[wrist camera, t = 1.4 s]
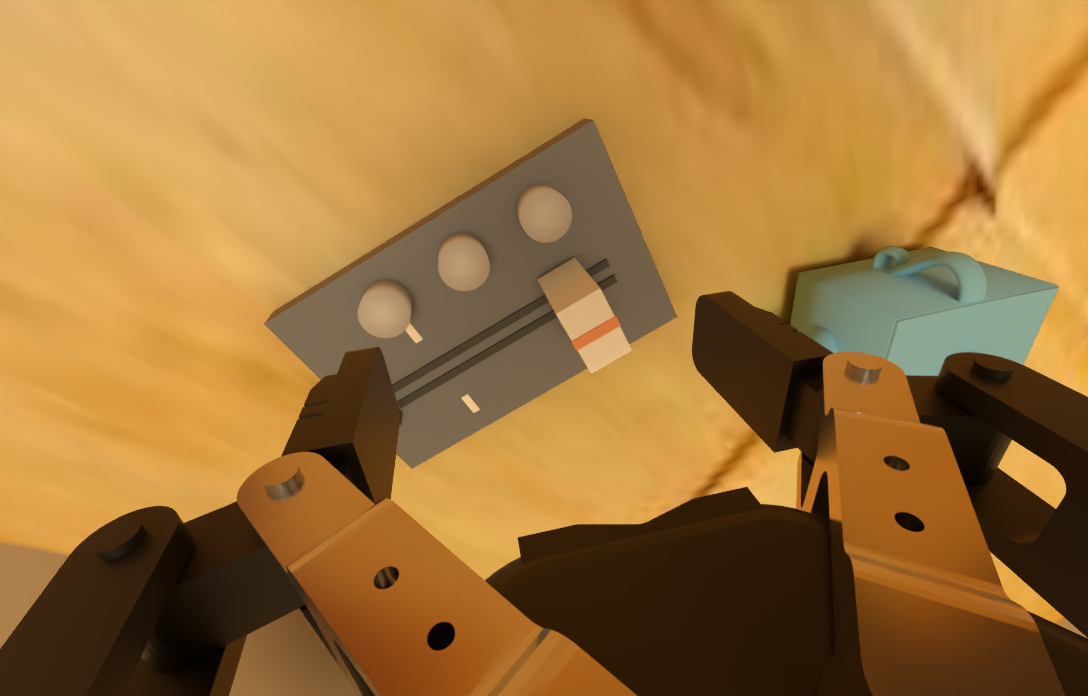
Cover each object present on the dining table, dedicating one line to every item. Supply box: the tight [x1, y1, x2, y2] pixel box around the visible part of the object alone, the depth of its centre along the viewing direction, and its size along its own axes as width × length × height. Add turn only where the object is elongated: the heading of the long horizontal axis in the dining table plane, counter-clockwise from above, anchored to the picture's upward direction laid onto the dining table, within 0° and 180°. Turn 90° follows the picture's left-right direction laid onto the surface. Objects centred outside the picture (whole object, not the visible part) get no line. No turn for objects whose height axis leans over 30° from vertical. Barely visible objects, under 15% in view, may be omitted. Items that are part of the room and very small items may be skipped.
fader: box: [537, 258, 632, 374], centre depth 31 cm, size 3×5×6 cm, turn 29°
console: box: [264, 119, 677, 468], centre depth 34 cm, size 25×16×4 cm, turn 119°
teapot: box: [790, 246, 1059, 376], centre depth 36 cm, size 18×16×13 cm
